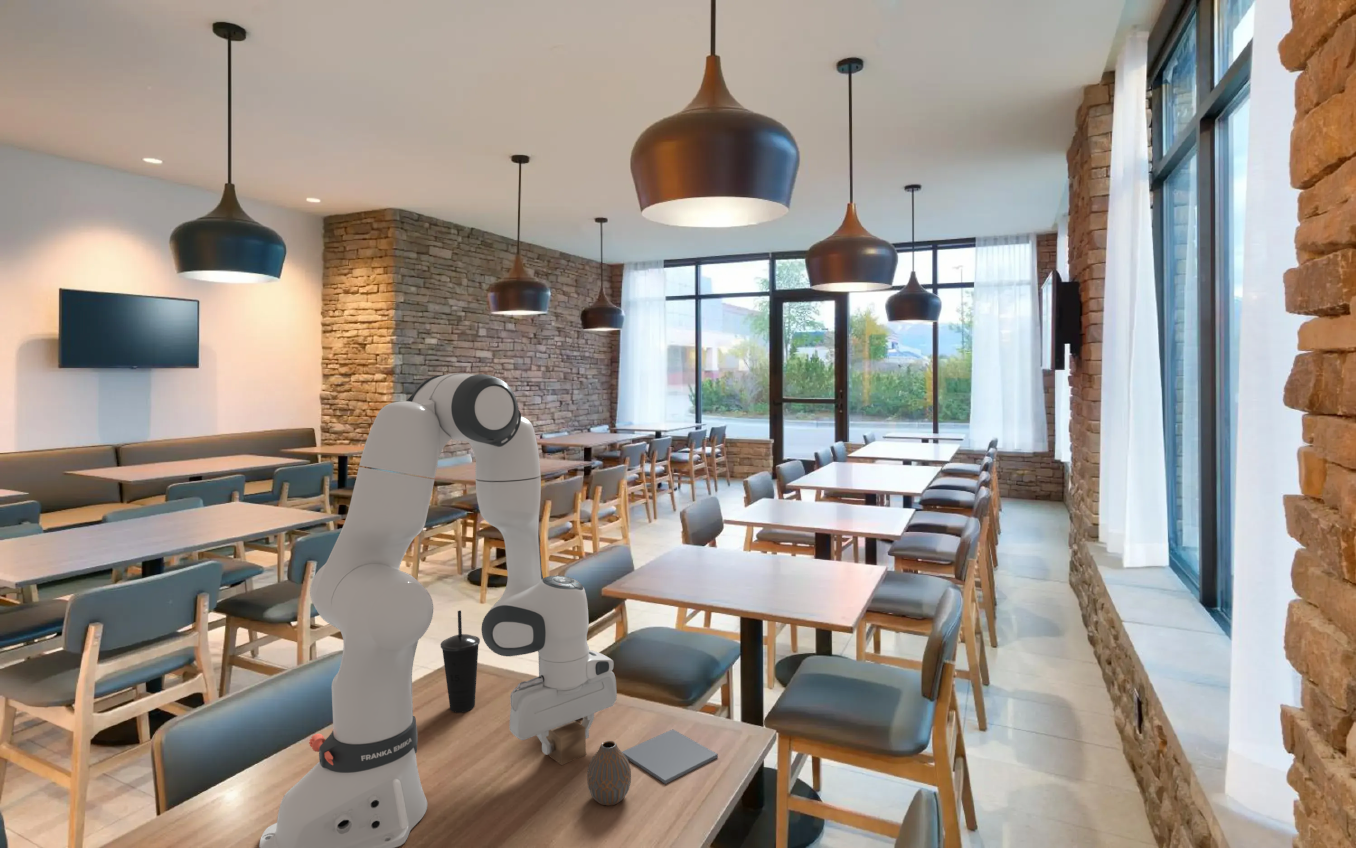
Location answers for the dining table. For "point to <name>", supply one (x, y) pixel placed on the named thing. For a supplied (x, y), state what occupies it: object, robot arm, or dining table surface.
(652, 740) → the slate coaster
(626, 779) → the vase
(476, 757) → the dining table surface
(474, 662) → the drinking cup
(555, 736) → the walnut cube
